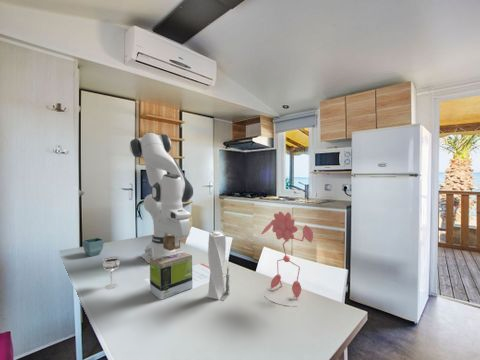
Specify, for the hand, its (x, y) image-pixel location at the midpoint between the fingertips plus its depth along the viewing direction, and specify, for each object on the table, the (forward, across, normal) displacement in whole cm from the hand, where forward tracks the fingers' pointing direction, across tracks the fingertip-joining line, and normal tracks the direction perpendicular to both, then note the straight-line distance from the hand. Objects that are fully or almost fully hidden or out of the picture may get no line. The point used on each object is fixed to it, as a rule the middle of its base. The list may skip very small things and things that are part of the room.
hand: (171, 244), depth 103 cm
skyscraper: (+20, +18, +10) cm, 29 cm away
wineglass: (+20, -22, -16) cm, 34 cm away
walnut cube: (+2, 0, 0) cm, 2 cm away
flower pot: (+19, -73, -7) cm, 76 cm away
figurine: (+20, +37, +29) cm, 51 cm away
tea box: (+20, 0, 0) cm, 20 cm away
